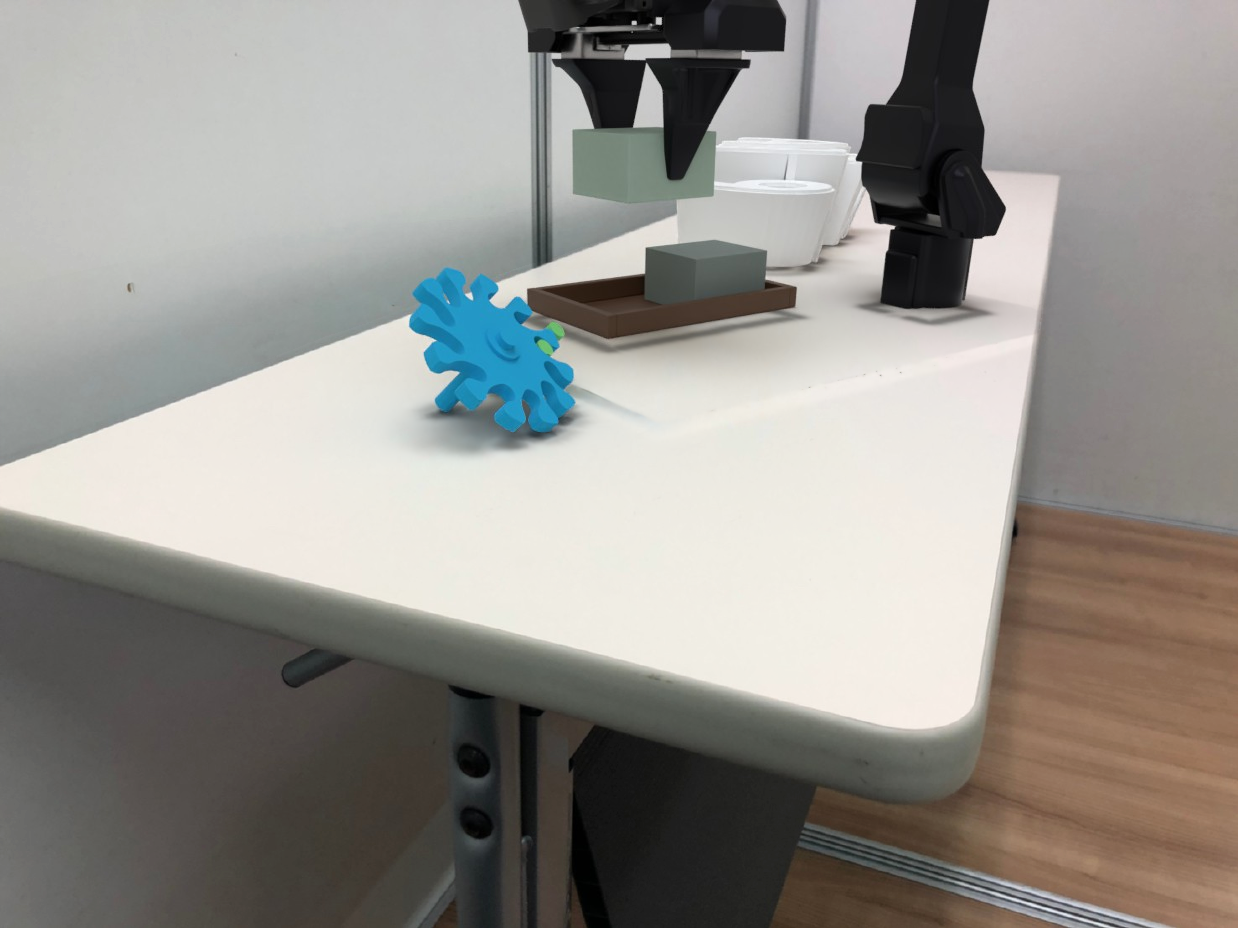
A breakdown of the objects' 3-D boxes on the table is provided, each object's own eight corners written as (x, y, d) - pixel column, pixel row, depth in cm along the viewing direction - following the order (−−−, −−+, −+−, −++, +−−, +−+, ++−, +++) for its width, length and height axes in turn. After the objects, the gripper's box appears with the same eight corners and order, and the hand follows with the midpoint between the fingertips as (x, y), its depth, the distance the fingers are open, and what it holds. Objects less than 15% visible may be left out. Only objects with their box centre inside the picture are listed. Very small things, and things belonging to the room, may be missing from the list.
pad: (712, 289, 79) (714, 239, 77) (764, 302, 74) (767, 250, 73) (644, 299, 75) (645, 247, 73) (693, 314, 70) (696, 259, 69)
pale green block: (655, 187, 67) (657, 126, 66) (714, 196, 63) (717, 131, 61) (572, 194, 63) (571, 129, 62) (628, 203, 59) (628, 134, 57)
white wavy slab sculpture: (753, 222, 120) (758, 132, 116) (887, 232, 114) (898, 137, 110) (639, 269, 90) (641, 151, 86) (812, 286, 84) (823, 160, 80)
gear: (498, 433, 44) (388, 259, 46) (426, 500, 47) (325, 335, 49) (623, 402, 53) (527, 258, 55) (556, 459, 57) (467, 322, 58)
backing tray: (705, 292, 81) (707, 265, 81) (794, 316, 74) (797, 286, 73) (527, 319, 72) (526, 288, 71) (608, 350, 64) (608, 316, 63)
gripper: (450, -96, 59) (463, 170, 65) (638, -145, 45) (633, 198, 51) (598, -79, 65) (597, 162, 71) (803, -117, 52) (781, 186, 57)
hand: (643, 175), depth 63 cm, fingers closed on pale green block, 6 cm apart
